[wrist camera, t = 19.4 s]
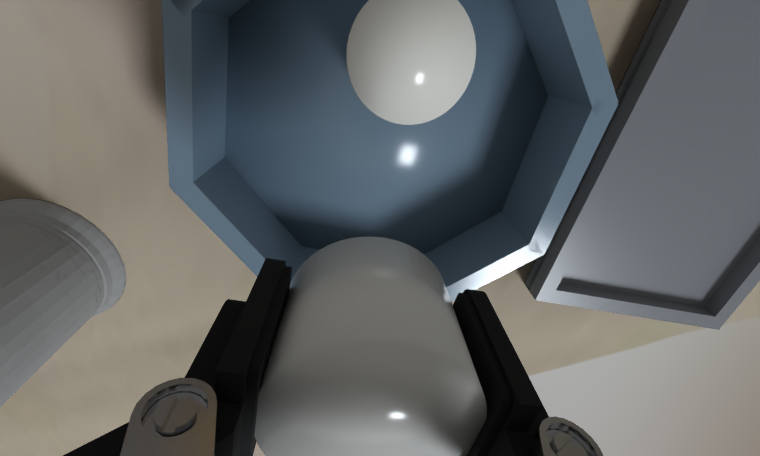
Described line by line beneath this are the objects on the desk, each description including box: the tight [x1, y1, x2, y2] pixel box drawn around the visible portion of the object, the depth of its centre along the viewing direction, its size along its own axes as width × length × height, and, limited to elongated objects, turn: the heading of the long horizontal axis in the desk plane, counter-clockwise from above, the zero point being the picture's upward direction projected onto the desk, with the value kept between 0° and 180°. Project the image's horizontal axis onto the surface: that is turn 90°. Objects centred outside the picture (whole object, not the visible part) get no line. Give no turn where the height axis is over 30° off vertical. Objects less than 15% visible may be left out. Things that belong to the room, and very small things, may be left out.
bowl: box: [162, 0, 618, 302], centre depth 17 cm, size 18×18×5 cm
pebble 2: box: [254, 237, 487, 456], centre depth 9 cm, size 5×5×4 cm
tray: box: [525, 0, 760, 329], centre depth 21 cm, size 14×19×2 cm
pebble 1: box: [346, 0, 476, 125], centre depth 16 cm, size 5×5×4 cm
